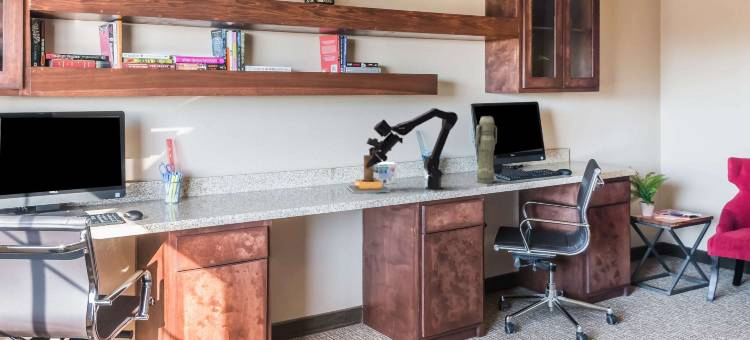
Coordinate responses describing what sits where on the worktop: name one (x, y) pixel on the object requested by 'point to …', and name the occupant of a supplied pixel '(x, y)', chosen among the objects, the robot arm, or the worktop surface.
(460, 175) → the worktop surface
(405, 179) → the worktop surface
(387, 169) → the light bulb box
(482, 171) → the stone statue
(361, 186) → the square socket
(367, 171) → the tan square block
